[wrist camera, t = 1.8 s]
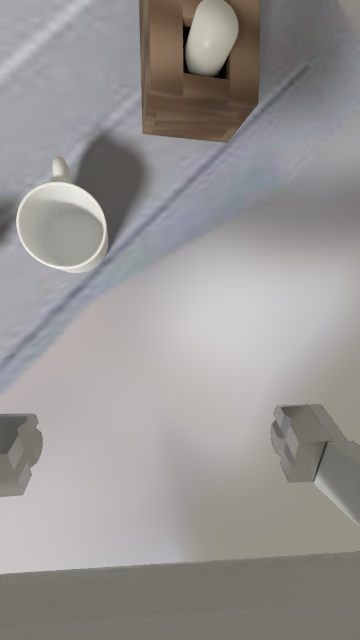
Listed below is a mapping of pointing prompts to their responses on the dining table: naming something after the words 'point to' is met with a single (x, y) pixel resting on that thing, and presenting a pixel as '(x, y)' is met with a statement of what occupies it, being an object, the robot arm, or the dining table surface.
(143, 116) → the wooden peg block
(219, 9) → the white egg
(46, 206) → the cup
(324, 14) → the dining table surface
